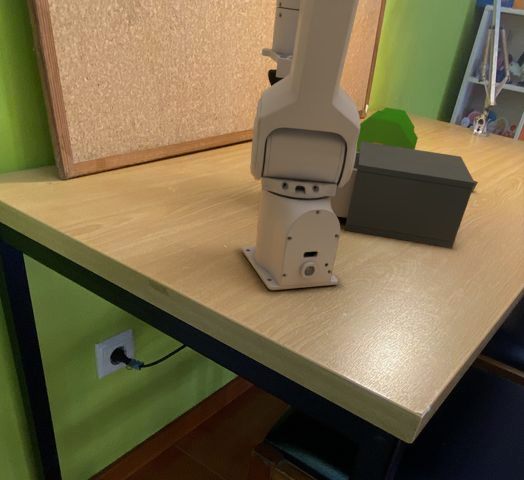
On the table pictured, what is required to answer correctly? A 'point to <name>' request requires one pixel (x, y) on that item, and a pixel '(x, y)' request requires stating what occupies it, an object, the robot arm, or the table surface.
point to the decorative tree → (388, 129)
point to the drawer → (344, 194)
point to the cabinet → (409, 194)
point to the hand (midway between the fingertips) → (285, 132)
